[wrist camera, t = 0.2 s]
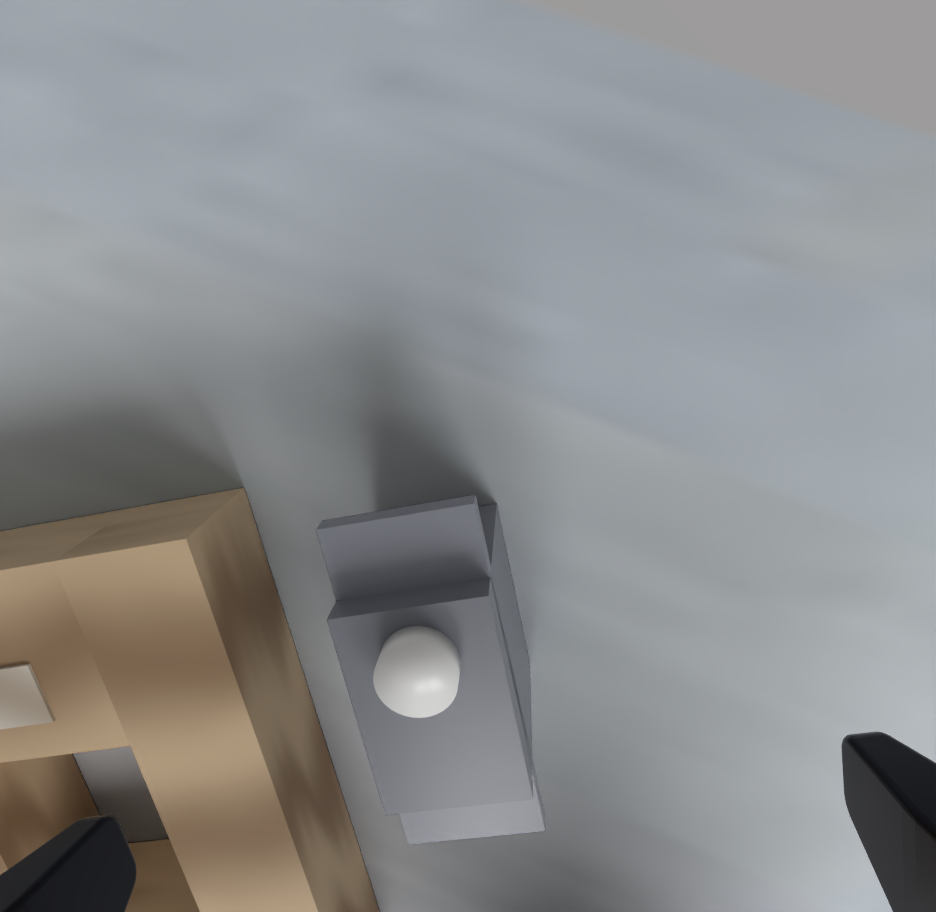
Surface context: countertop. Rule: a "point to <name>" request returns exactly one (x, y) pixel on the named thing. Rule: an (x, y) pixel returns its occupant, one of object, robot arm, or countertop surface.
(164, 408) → the countertop surface
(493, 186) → the countertop surface
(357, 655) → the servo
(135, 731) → the chassis board
